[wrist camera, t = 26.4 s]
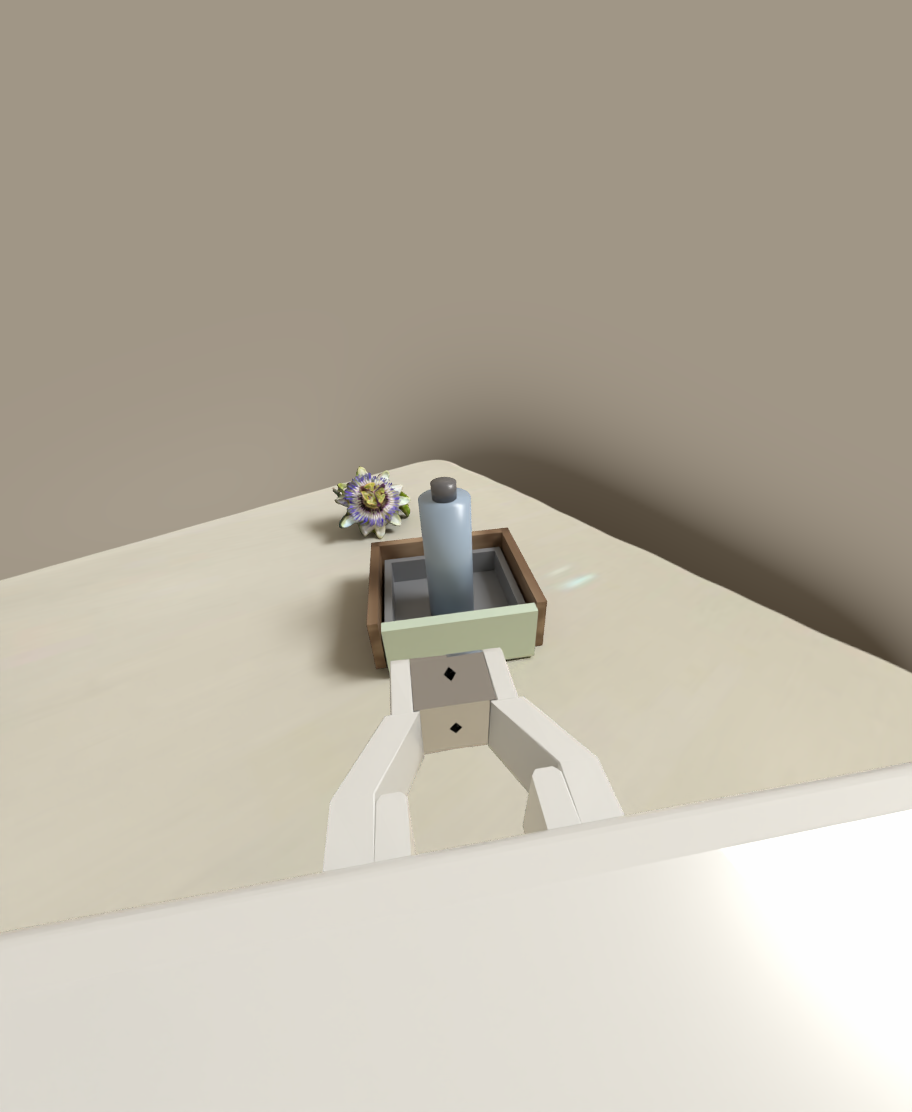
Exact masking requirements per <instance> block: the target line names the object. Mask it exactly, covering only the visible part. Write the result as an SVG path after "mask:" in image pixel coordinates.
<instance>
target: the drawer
mask: <svg viewBox="0 0 912 1112" xmlns="http://www.w3.org/2000/svg"><path fill="white" fill-rule="evenodd" d="M472 561H473V593H474V611H467V612H460V613H452V614H445V615H437V616H432V615H431V611H430V602H429V593H428V584H427V575H426V566H425V557H424V556H416V557H407V558H398V559H390V560H385V622H384V623H381V634H382V639H383V644H384V649H385V654H386V659H387V664H388V669H389V674H390V661H395V660H404V659H409V660H410V659H412V658H422V657H432V656H441V655H446V654H453V653H460V652H468V651H475V650H484V649H491V648H499V647H500V648H501V649H502V651H503V654H504V657H505V660H506V659H513V658H520V657H527V656H534V651H535V640H536V630H537V619H538V609H537V607H536V605H535V603H528V604H526V603H525V601H524V599H523V596H522V594H521V592H520V590H519V588H518V586H517V583H516V581H515V579H514V577H513V575H512V573H511V570H510V568H509V566H508V564H507V562H506V560H505V557H504V555H503V553H502V551H501V549H500V547H493V548H484V549H476V550H472Z"/></svg>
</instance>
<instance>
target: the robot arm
mask: <svg viewBox="0 0 912 1112" xmlns="http://www.w3.org/2000/svg"><path fill="white" fill-rule="evenodd" d="M390 712H391V715H388V716H385V717H384V718H383V720H382V721H381V723H380V724H379V726H378V728H377V729H376V731H375V732H374V734H373V735H372V737H371V738H370V740H369V742H368V743H367V745H366V746H365V748H364V749H363V751H362V752H361V754H360V756H359V757H358V759H357V760H356V762H355V763H354V765H353V766H352V768H351V770H350V771H349V773H348V774H347V776H346V777H345V779H344V781H343V782H342V784H341V785H340V787H339V788H338V790H337V791H336V793H335V795H334V796H333V798H332V799H331V801H330V808H329V818H328V827H327V836H326V846H325V855H324V864H323V872H319V873H314V874H308V875H303V876H298V877H292V878H287V879H282V880H276V881H271V882H266V883H260V884H255V885H250V886H244V887H239V888H234V889H228V890H223V891H218V892H212V893H207V894H202V895H196V896H191V897H186V898H180V899H175V900H170V901H164V902H159V903H154V904H148V905H143V906H138V907H132V908H127V909H122V910H116V911H111V912H106V913H100V914H95V915H89V916H84V917H79V918H73V919H68V920H63V921H57V922H52V923H47V924H41V925H36V926H31V927H25V928H20V929H15V930H9V931H4V932H0V1112H912V762H907V763H902V764H897V765H891V766H886V767H881V768H875V769H870V770H864V771H859V772H854V773H848V774H843V775H838V776H832V777H827V778H822V779H816V780H811V781H806V782H800V783H795V784H790V785H784V786H779V787H774V788H768V789H763V790H758V791H752V792H747V793H742V794H736V795H731V796H726V797H720V798H715V799H709V800H704V801H699V802H693V803H688V804H683V805H677V806H672V807H667V808H661V809H656V810H651V811H645V812H640V813H635V814H629V815H624V813H623V811H622V808H621V806H620V804H619V802H618V800H617V798H616V795H615V793H614V791H613V789H612V787H611V785H610V783H609V780H608V778H607V776H606V774H605V772H604V770H603V768H602V765H601V763H600V761H599V759H598V757H597V756H595V755H594V754H593V753H592V752H591V751H589V750H588V749H587V748H586V747H585V746H583V745H582V744H581V743H580V742H578V741H577V740H576V739H575V738H574V737H572V736H571V735H570V734H569V733H568V732H566V731H565V730H564V729H563V728H561V727H560V726H559V725H558V724H557V723H555V722H554V721H553V720H552V719H551V718H549V717H548V716H547V715H546V714H544V713H543V712H542V711H541V710H540V709H538V708H537V707H536V706H535V705H534V704H532V703H531V702H530V701H529V700H527V699H526V698H525V697H524V696H522V697H518V695H517V692H516V689H515V686H514V683H513V681H512V678H511V675H510V672H509V669H508V666H507V663H506V660H505V657H504V654H503V651H502V649H501V648H500V647H499V648H491V649H484V650H475V651H468V652H460V653H453V654H446V655H441V656H432V657H422V658H412V659H410V660H409V659H404V660H395V661H390ZM481 745H488V746H489V748H490V749H491V750H492V751H493V752H494V753H495V754H496V756H497V757H498V758H499V759H500V760H501V761H502V763H503V764H504V765H505V766H506V767H507V768H508V770H509V771H510V772H511V773H512V774H513V775H514V776H515V778H516V779H517V780H518V781H519V782H520V783H521V785H522V786H523V787H524V788H525V789H526V790H527V792H528V793H529V794H528V800H527V805H526V810H525V816H524V821H523V829H524V833H525V834H522V835H517V836H511V837H506V838H501V839H495V840H490V841H485V842H479V843H474V844H469V845H463V846H458V847H453V848H447V849H442V850H436V851H431V852H426V853H420V854H416V850H415V842H414V835H413V829H412V823H411V816H410V810H409V804H408V797H407V795H408V793H409V791H410V789H411V786H412V784H413V782H414V779H415V777H416V775H417V773H418V770H419V768H420V766H421V763H422V761H423V759H424V755H425V754H430V753H435V752H441V751H446V750H452V749H457V748H465V747H473V746H481Z"/></svg>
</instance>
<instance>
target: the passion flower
mask: <svg viewBox="0 0 912 1112" xmlns="http://www.w3.org/2000/svg"><path fill="white" fill-rule="evenodd" d="M388 478H389V471H384V472H383V473H381V474H379V475H378V477H377V478H376V476H375V477H374V476H373V478H371V473H367V472H366V470H365V469H364V468H363V467H360V466H359V468H358V469H357V472H356V477H355V478H354V479H352V482H349V483H347V484H343V483H339V484H338V485H337V486H338V490H336V489H334V488H333V492H334V493H335V494H337V495H338V498H337V499H336V500H335V502H336V503H338V504H341V505H343V506H346V507H348V508H347V513H346V515H345V516H343V518H342V519H341V520H340V522H339V527H340V528H347V527H349V526H351V525H352V524H353V523H357V524H358V525H359V529H360V531H361V533H362V535H363V536H364V537H366V536H367V535H368V534H369V533H370V532H373V533H374V534H376V536H377V537H378V538H379V539H381V538H382V537H383V536H384V535H385V525H386V524H387V523H391V524H393V525H394V526H400V525H401V519H400V517H399V514H398V511H400V510H401V511H402V512H403V513H404V514H405V515H406V516H407V517H408V516H409V514H410V509H409V507H408V506H409V505H408V503H409V502H410V498H409V497H408V496H407V495H406V494H405V493H403V492H402V489H403V485H400V484H395V485H392V483H391V484H390V483H388V480H389V479H388ZM346 487H347V489H346V490H345V491H343V489H344V488H346ZM340 492H342V495H341V494H340Z"/></svg>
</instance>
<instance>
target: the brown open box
mask: <svg viewBox="0 0 912 1112" xmlns="http://www.w3.org/2000/svg"><path fill="white" fill-rule="evenodd" d="M493 547H500V549H501V551H502V553H503V555H504V557H505V560H506V562H507V564H508V566H509V568H510V570H511V573H512V575H513V577H514V579H515V581H516V583H517V586H518V588H519V590H520V592H521V594H522V596H523V599H524V601H525V603H526V604H528V603H535V605H536V607H537V609H538V619H537V630H536V640H535V646H540V645H542V644H543V634H544V625H545V616H546V607H547V600H546V598H545V596H544V595H543V593H542V591H541V589H540V587H539V585H538V583H537V582H536V580H535V578H534V576H533V574H532V572H531V570H530V568H529V567H528V565H527V563H526V561H525V559H524V557H523V555H522V554H521V552H520V550H519V548H518V546H517V544H516V542H515V540H514V539H513V537H512V535H511V533H510V531H509V529H508V528H500V529H491V530H482V531H473V532H472V550H476V549H484V548H493ZM416 556H424V548H423V539H422V537H420V538H411V539H402V540H393V541H384V542H375V543H371V558H370V575H369V593H368V610H367V629H368V634H369V638H370V642H371V647H372V651H373V656H374V660H375V665H376V669H380V668H386V654H385V649H384V644H383V639H382V634H381V623H384V622H385V560H390V559H398V558H407V557H416Z"/></svg>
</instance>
